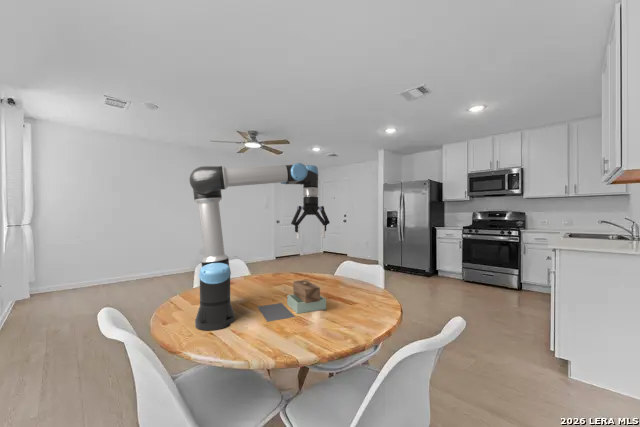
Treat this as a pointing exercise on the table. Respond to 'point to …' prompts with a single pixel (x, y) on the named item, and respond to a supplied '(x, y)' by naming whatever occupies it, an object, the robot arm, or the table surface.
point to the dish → (305, 304)
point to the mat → (275, 312)
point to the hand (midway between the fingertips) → (311, 238)
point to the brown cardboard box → (306, 291)
